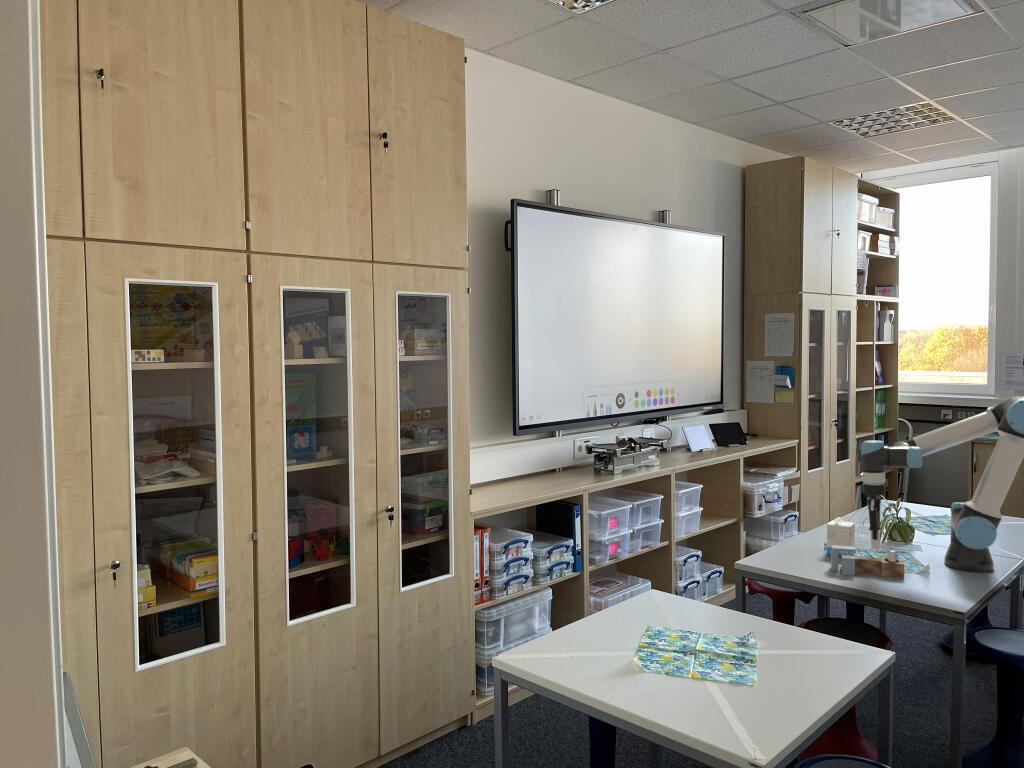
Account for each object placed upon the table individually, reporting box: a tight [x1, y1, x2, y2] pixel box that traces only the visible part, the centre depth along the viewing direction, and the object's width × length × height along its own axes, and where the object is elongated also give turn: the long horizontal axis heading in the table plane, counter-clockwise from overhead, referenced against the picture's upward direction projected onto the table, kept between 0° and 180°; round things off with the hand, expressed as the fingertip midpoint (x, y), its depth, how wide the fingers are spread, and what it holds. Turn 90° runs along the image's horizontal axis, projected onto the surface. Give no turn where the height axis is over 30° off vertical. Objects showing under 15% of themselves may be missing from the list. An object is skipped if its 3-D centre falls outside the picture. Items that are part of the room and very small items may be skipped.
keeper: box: [830, 545, 856, 576], centre depth 262 cm, size 8×8×8 cm
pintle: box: [887, 549, 898, 563], centre depth 259 cm, size 3×3×8 cm
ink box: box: [826, 516, 856, 556], centre depth 286 cm, size 9×8×13 cm
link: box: [840, 555, 905, 579], centre depth 261 cm, size 20×7×5 cm, turn 69°
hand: (875, 547), depth 269 cm, fingers closed
